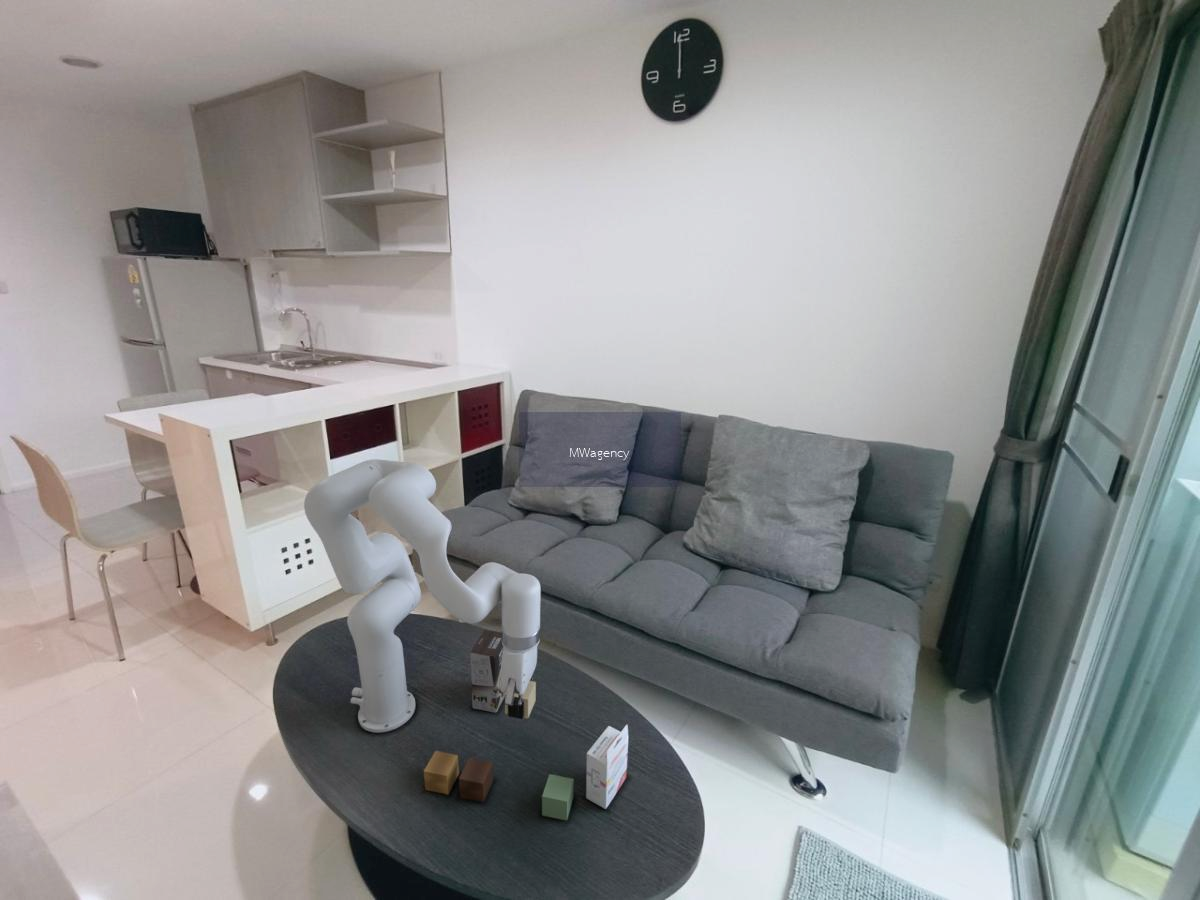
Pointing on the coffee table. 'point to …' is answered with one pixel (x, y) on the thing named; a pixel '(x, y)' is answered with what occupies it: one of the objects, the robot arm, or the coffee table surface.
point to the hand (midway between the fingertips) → (520, 705)
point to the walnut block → (476, 779)
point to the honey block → (441, 772)
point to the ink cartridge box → (607, 766)
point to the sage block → (557, 797)
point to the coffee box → (487, 671)
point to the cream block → (526, 699)
